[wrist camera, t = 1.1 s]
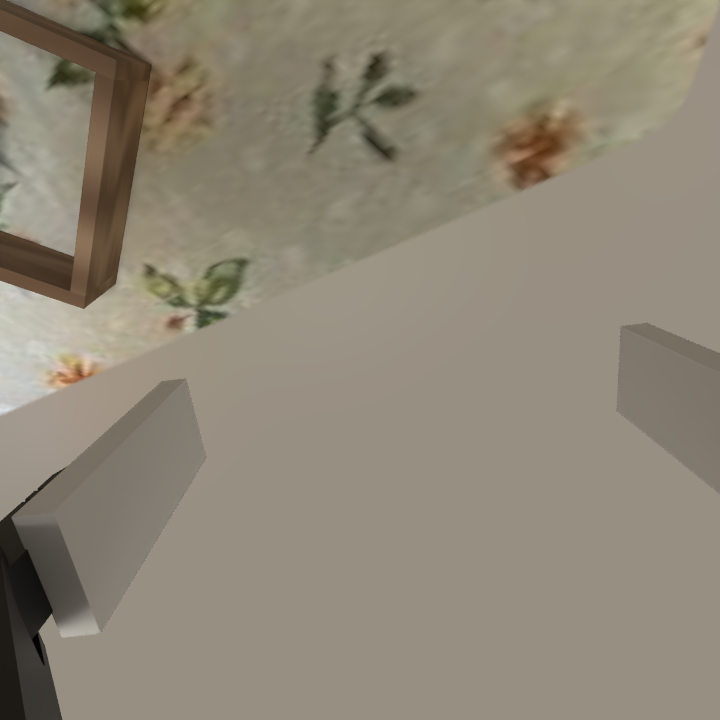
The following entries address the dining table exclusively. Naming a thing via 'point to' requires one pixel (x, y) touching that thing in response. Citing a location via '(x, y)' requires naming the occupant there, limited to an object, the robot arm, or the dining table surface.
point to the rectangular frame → (102, 166)
